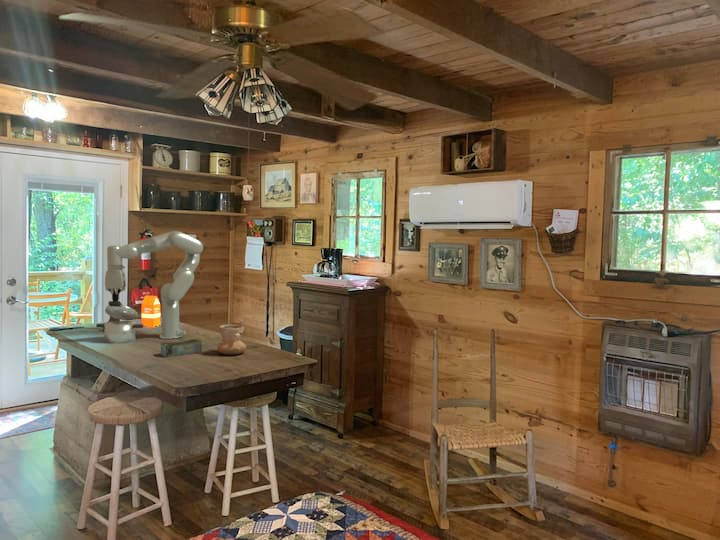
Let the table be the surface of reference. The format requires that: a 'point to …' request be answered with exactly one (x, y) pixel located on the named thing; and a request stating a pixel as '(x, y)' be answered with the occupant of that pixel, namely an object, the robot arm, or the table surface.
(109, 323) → the pot
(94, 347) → the table surface
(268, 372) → the table surface
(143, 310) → the orange juice
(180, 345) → the grey-green rectangular block
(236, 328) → the ceramic jug
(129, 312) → the lid
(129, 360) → the table surface
